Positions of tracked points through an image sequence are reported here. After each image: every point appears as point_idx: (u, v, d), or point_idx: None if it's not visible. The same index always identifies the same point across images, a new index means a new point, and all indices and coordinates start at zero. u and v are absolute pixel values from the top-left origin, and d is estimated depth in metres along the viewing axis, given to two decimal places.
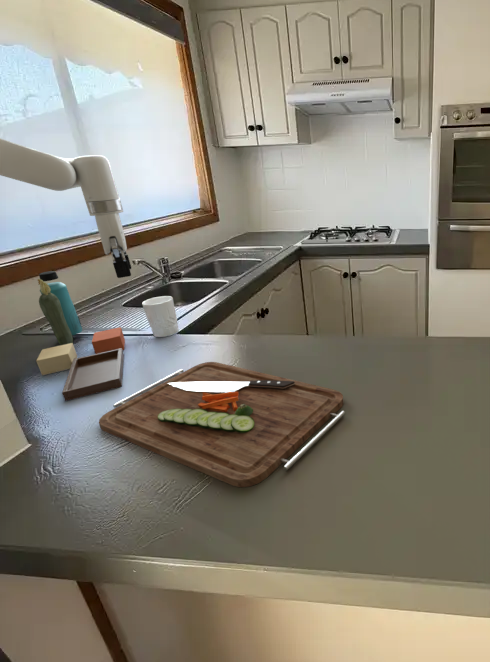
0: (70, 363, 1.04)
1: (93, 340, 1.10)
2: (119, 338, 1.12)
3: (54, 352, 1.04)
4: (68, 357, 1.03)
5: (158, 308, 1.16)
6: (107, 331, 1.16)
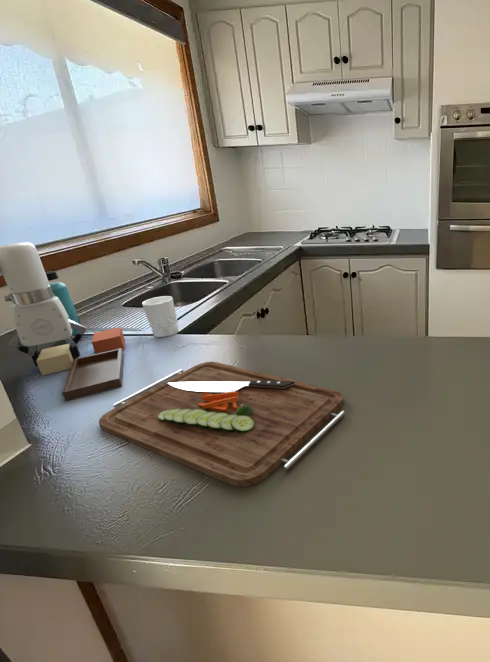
0: (70, 363, 1.04)
1: (93, 340, 1.10)
2: (119, 338, 1.12)
3: (54, 352, 1.04)
4: (68, 357, 1.03)
5: (158, 308, 1.16)
6: (107, 331, 1.16)
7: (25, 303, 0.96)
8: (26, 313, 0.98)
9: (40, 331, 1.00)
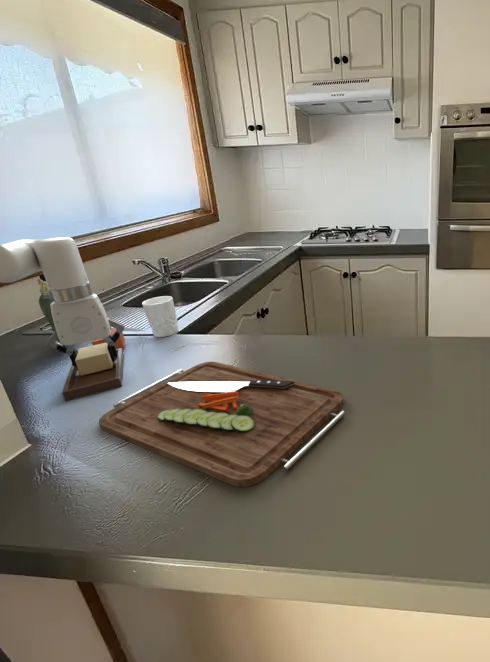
0: (109, 363, 1.00)
1: (93, 340, 1.10)
2: (119, 338, 1.12)
3: (92, 351, 1.00)
4: (107, 356, 0.99)
5: (158, 308, 1.16)
6: None
7: (65, 300, 0.92)
8: (66, 310, 0.94)
9: (79, 329, 0.96)
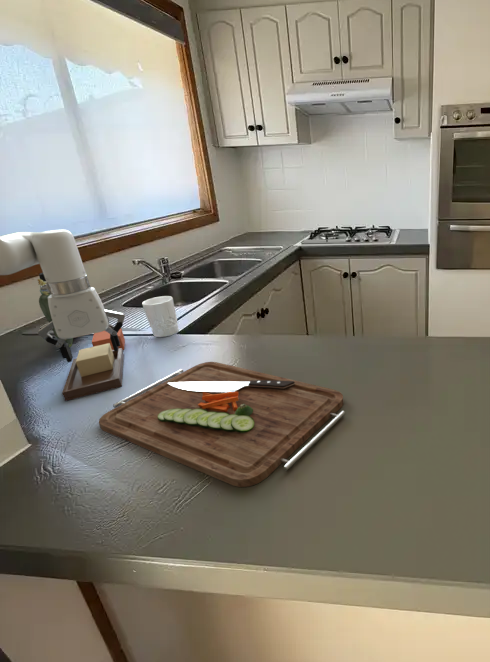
0: (109, 364, 1.00)
1: (93, 340, 1.10)
2: (119, 338, 1.12)
3: (93, 352, 1.01)
4: (108, 358, 0.99)
5: (158, 308, 1.16)
6: None
7: (62, 293, 0.92)
8: (63, 303, 0.93)
9: (76, 323, 0.95)
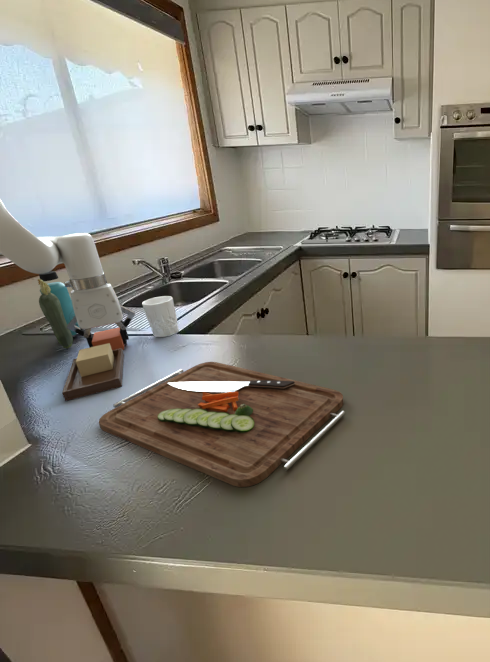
0: (109, 364, 1.00)
1: (93, 340, 1.10)
2: (119, 338, 1.12)
3: (93, 352, 1.01)
4: (108, 358, 0.99)
5: (158, 308, 1.16)
6: (107, 331, 1.16)
7: (83, 288, 1.05)
8: (84, 297, 1.06)
9: (95, 315, 1.09)
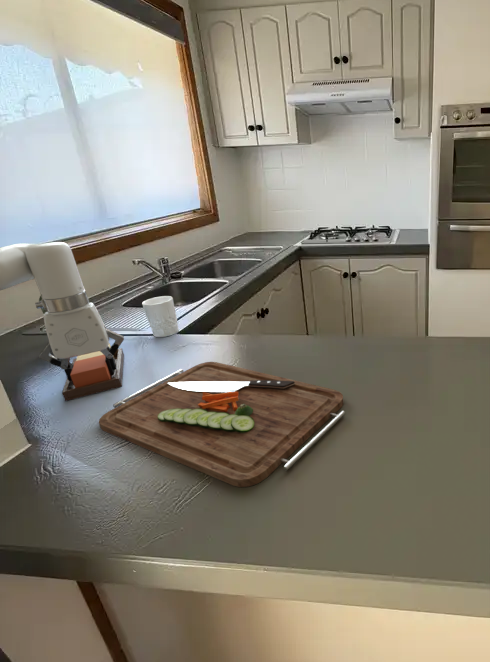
0: None
1: (72, 372, 0.90)
2: (104, 369, 0.92)
3: (93, 352, 1.01)
4: None
5: (158, 308, 1.16)
6: (90, 359, 0.96)
7: (59, 310, 0.85)
8: (60, 321, 0.87)
9: (75, 342, 0.89)
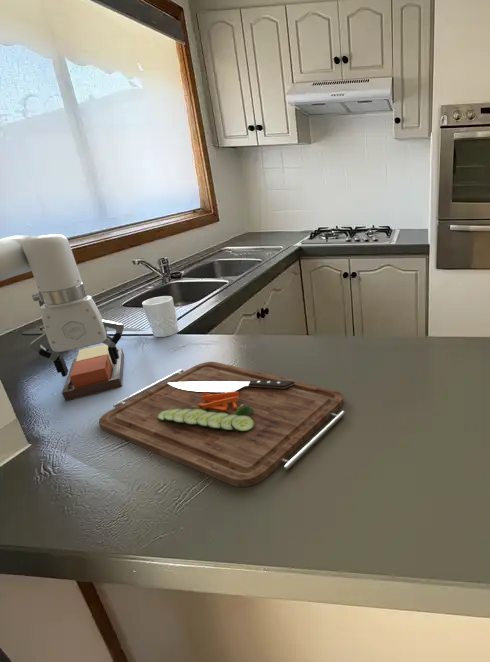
0: None
1: (72, 373, 0.90)
2: (104, 370, 0.92)
3: (93, 352, 1.01)
4: (108, 358, 0.99)
5: (159, 308, 1.16)
6: (90, 361, 0.96)
7: (56, 303, 0.85)
8: (57, 314, 0.86)
9: (72, 335, 0.88)
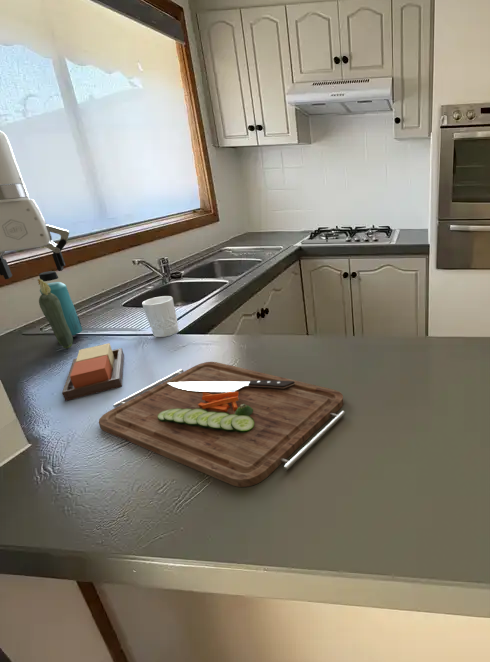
0: None
1: (72, 373, 0.90)
2: (104, 370, 0.92)
3: (93, 352, 1.01)
4: (108, 358, 0.99)
5: (158, 308, 1.16)
6: (90, 361, 0.96)
7: None
8: None
9: (13, 234, 0.89)
